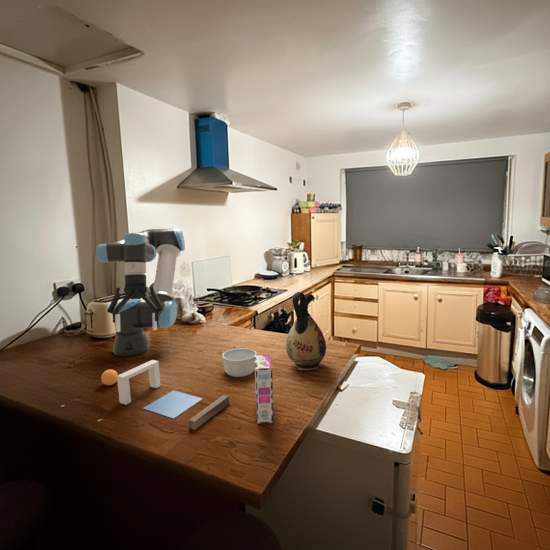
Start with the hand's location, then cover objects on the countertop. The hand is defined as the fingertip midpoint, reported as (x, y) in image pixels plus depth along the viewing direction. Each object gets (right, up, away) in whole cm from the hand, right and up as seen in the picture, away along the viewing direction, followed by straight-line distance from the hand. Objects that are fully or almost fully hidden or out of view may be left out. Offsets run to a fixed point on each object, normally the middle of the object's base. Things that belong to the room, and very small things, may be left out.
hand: (136, 331), depth 133 cm
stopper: (+33, -21, -27) cm, 47 cm away
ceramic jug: (+64, -15, +6) cm, 66 cm away
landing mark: (+20, -20, -20) cm, 34 cm away
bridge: (+6, -19, -13) cm, 24 cm away
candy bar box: (+49, -21, -27) cm, 59 cm away
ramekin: (+39, -16, +4) cm, 42 cm away
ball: (-8, -16, -5) cm, 18 cm away
